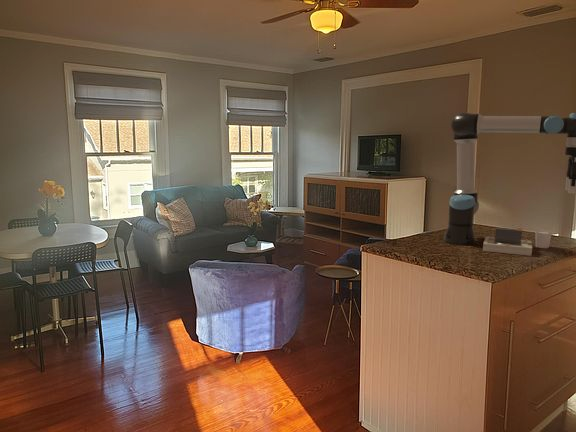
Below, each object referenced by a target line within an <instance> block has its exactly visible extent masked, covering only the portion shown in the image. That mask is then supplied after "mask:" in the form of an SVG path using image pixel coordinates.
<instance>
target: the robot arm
mask: <svg viewBox="0 0 576 432" xmlns="http://www.w3.org/2000/svg"><path fill="white" fill-rule="evenodd" d="M450 129H451V131H452V132H453V142H455V143H456V190H455V191H454V192H453V195H452V196H451V197H450V199H449V202H448V203H449V208H448V209H449V211H448V224H447V228H446V231H445V233H444V236H443V241H444V242H445V243H449V244H453V245H461V246H462V245H468V246H469V245H475V244H476V241H477V238H476V234H475V230H474V219H475V218H474V216H475V214H477V212H478V210H479V206H480V205H479V201H478V200H479V199H478V195H479V194H478V191H477V190H476V189H475V143H476V142H477V141H478V138H479V137H478V135H479V134H480V133H509V134H510V133H513V134H514V133H518V134H519V133H520V134H522V133H523V134H525V133H527V134H528V133H529V134H530V133H531V134H532V133H533V134H540V135H561V134H564V135H566V134H567V135H566V141H565V142H566V143H565V146H566V147H565V152H564V154H565V156H569V157H568V161H567V163H568V164H567V171H566V180H565V191H566V192H567V193H568V194H573V195H574V194H576V112H572V113H570V114H569V116H567V117H561V116H559V115H550V116H549V115H546V116H545V115H543V116H541V115H534V116H533V115H531V116H530V115H528V116H527V115H524V116H523V115H522V116H521V115H502V116H501V115H482V114H481V113H469V112H466V111H465V112H459V113H456V115H454V116H453V117H452V119H451V122H450Z"/></svg>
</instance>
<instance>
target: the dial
mask: <svg viewBox="0 0 576 432" xmlns="http://www.w3.org/2000/svg"><path fill="white" fill-rule="evenodd" d="M522 232H523V228H521V227H517V228H515V229H513V228H501V227H495V233H494V235H495V241H494V244H500V245H506V244H509V245H511V246H522V244H521V240H522V234H523V233H522Z"/></svg>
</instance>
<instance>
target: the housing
mask: <svg viewBox="0 0 576 432" xmlns="http://www.w3.org/2000/svg"><path fill="white" fill-rule="evenodd" d="M494 241H495V237H494V236H485V237H484V241H483V245H482V251H483V252H489V253H501V254H508V255H509V254H510V255H518V256H527V257H528V256H529V257H532V253H533V243H532V240H530V239H529V240H528V239H521V244H522V246H511V245H509V244H506V245H500V244H494Z"/></svg>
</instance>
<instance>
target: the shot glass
mask: <svg viewBox="0 0 576 432" xmlns="http://www.w3.org/2000/svg"><path fill="white" fill-rule="evenodd" d="M551 238H552V233H551V232H547V231H535V239H534V240H535V247H536V248H540V249H549V248H550V243H551Z"/></svg>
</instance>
